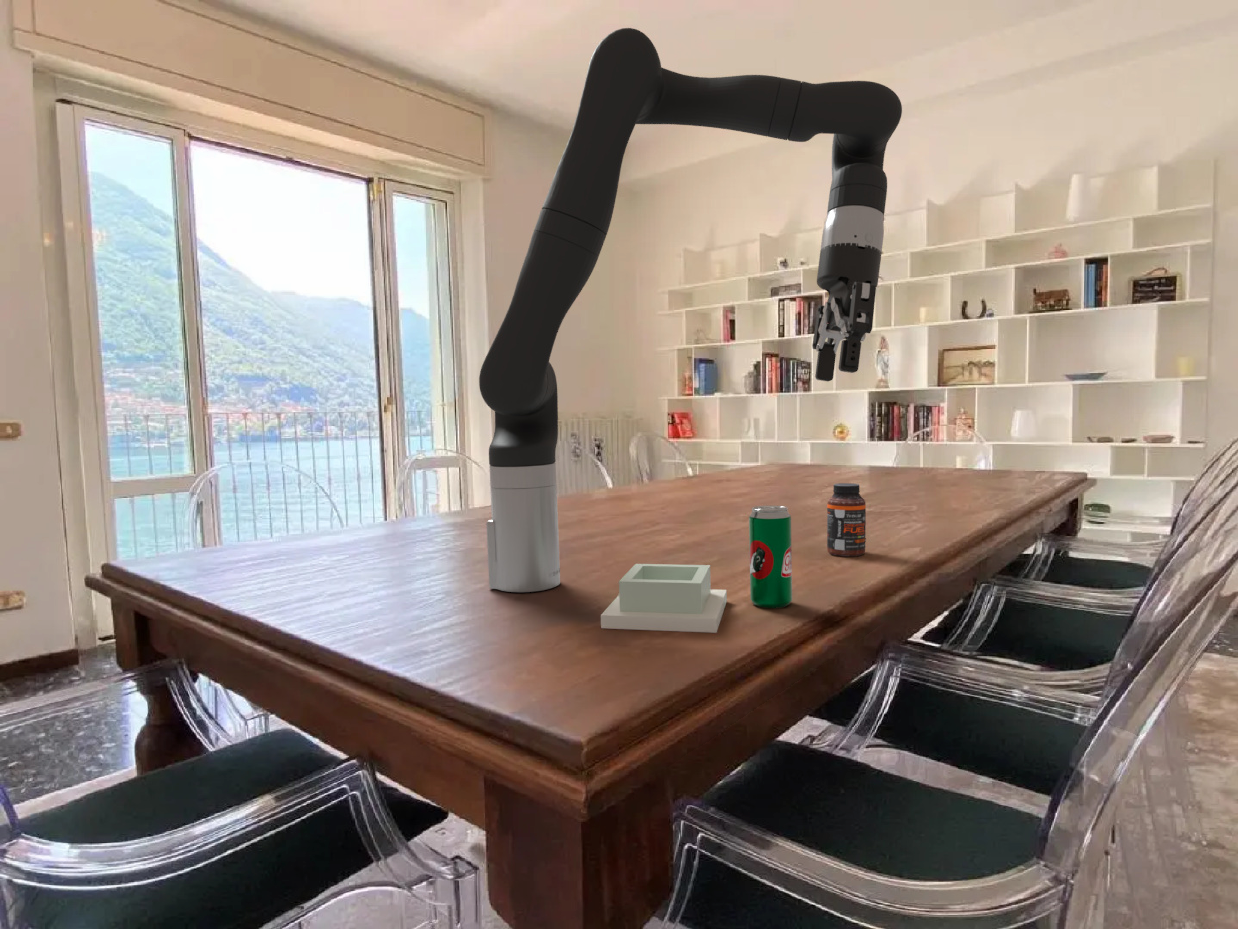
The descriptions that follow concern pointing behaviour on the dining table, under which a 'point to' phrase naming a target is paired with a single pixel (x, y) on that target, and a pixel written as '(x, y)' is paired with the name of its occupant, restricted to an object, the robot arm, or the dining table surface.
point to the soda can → (770, 556)
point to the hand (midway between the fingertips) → (835, 376)
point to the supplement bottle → (846, 521)
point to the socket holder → (666, 600)
